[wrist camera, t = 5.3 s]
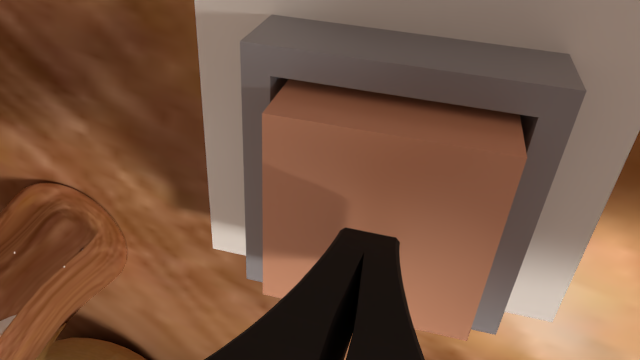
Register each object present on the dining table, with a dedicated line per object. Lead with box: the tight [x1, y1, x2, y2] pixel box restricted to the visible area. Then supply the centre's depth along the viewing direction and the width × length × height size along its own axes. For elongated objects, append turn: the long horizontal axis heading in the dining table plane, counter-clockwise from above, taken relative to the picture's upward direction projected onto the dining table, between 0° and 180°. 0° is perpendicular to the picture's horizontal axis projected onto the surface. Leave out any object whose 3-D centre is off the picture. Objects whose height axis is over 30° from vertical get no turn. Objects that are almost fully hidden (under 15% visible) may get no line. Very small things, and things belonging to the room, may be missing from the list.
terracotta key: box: [262, 79, 527, 341], centre depth 14 cm, size 6×6×3 cm
